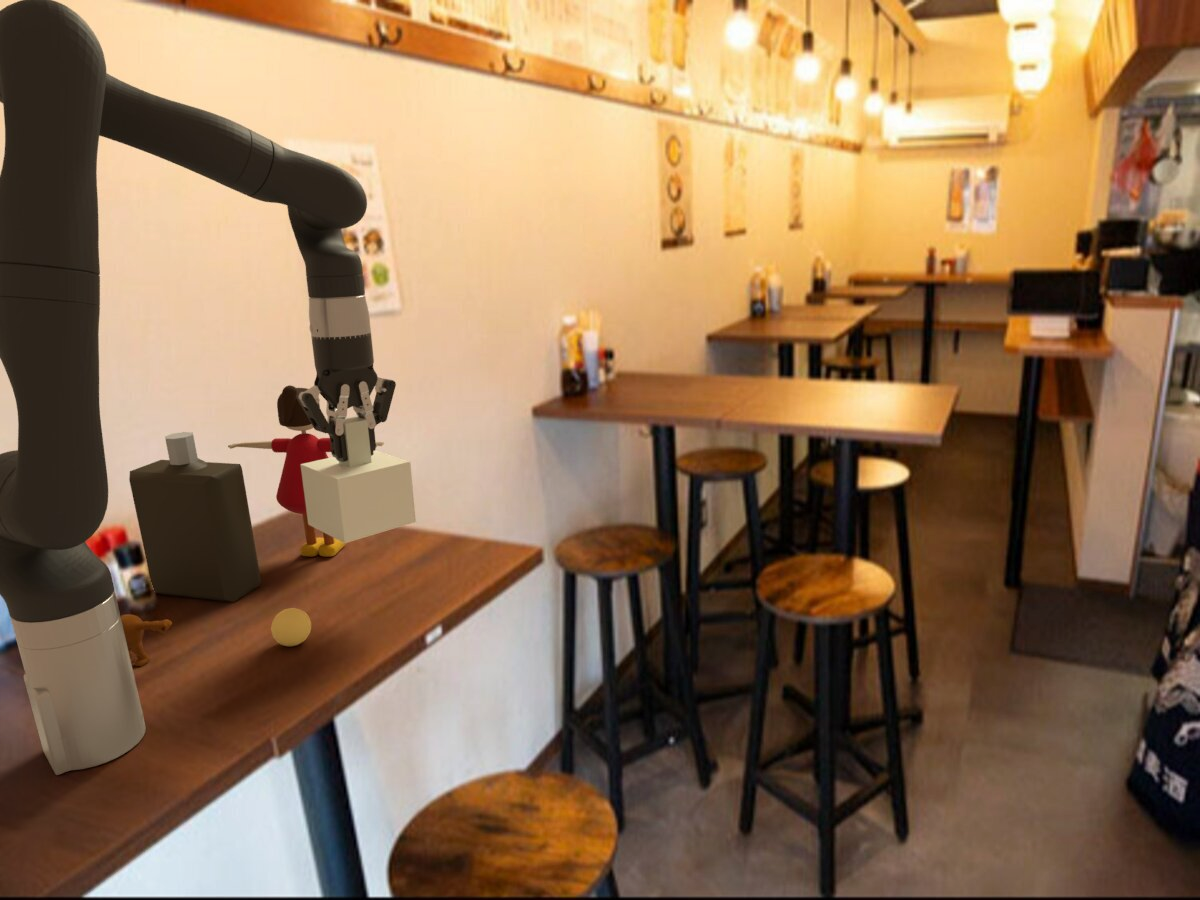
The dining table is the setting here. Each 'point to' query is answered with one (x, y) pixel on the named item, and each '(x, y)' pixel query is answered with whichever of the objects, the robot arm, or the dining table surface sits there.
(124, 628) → the toy figurine
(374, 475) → the cover
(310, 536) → the toy
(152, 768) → the dining table surface
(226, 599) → the bottle
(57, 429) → the robot arm
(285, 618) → the ball
